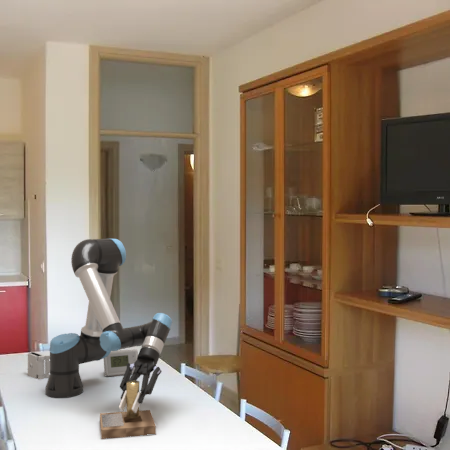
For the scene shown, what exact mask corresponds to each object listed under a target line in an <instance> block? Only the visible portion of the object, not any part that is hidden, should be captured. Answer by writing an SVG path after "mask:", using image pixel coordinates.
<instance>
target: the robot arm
mask: <svg viewBox="0 0 450 450" xmlns="http://www.w3.org/2000/svg"><path fill="white" fill-rule="evenodd" d="M126 259H127V251H126V248H125V246H124V244H123V242H122V241H121V240H119V239H117V238H109V237H107V238H93V239H92V238H90V239H88V238H87V239H84V240H82V241H80V242H79V243H77V244H76V245H75V247H74V248H73V250H72V254H71V262H70V263H71V268H72V271H73V273H74V275H75V277H76V278H79V281H80V283H81V285H82V287H83V290H84V293H85V294H86V297H87V299H88V306H87V312H86V313H87V314H86V319H85V325H84V326H83V327H81V330H80V335H79V334H78V333H76V332H75V333H74V332H69V333H61V334H59V335H56V336H54V337H53V338H51V340H50V343H49V350H48V351H49V356H50V359H49V361H50V373H49V375H50V376H49V378H47V382H46V385H45V391H44V392H45V395H46V396H48V397H51V398H56V399H57V398H69V397H70V398H71V397H75V396H79V395H80V394H82V393H83V392H84V384H83V380H82V377H81V375H80V365H83V364H86V363H91V362H95V361H97V362H98V361H100V360H102V359H103V360H104V358H106V357H107V356H108V355H109V354H110V352H111V351H119V350H126V349H127V348H128V349H130V348H135V347H141V348H140V349H139V352H138V357H137V360H136V361H135V363H134V364H130V363H128V364H127V369H126V372H125V374H124V375H123V377H122V379H121V383H120V384H119V388H120V389H121V391H122V393H121V395H120V400H121V401H120V403H119V406H118V408H119V410H120V412H125V411H124V410H125V409H126V407H127V382H128V381H132V380H136V381H138V379H139V378H140V377H141V376H143V377H142V381H141V382H142V383H141V387H140V389H139V392H138V394H137V396H136V399H135V401H134V404H133V407H132V411H133V412H134V413H136V412H137V410H138V407H139V408H140V404H142V403H143V402H144V400H145V396H147V395H148V396H149V395H150V396H151V395H152V393H153V391H154V388H155V385H156V383H157V380H158V377H159V376H161V375H160V374H162V369H161V368H160V366H157V364H158V361H159V359H160V357H161V353H162V351H163V349H164V346H165V343H166V341H167V339H168V335H169V333H170V331H171V329H172V328H171V327H172V324H173V319H172V317H170V316H169V315H168V314H166V313H164V312H157V313H155V314H154V315H153V318H152V320H151V321H150V322H147V323H144V324H141V325H134V326H129V327H123V325H122V323H121V321H120V318H119V317H118V314H117V311H116V309H115V308H114V305H113V302H112V300H111V297H112V296H111V295H112V289H113V282H114V276H115V275H116V274H118V272H119V267H121V266H122V265H124V264H125V262H126ZM134 367H135V370H134V371H133V368H134ZM132 371H133V374H131V373H132ZM151 373H152V374H151Z"/></svg>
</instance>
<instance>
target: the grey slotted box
mask: <svg viewBox="0 0 450 450" xmlns="http://www.w3.org/2000/svg"><path fill="white" fill-rule="evenodd" d="M27 376H29V377H31V378H34V379H37V380H44V379H49V376H50V355H44V354H41V353H38V352H35V351H34V352H33V351H32V352H28V353H27Z"/></svg>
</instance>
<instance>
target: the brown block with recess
mask: <svg viewBox="0 0 450 450" xmlns="http://www.w3.org/2000/svg"><path fill="white" fill-rule="evenodd" d="M99 426H100V436H101V437H100V438H101V440H105V439H106V438H107V439H116V438H117V439H118V438H128V437H129V438H130V436H131V437H141V436H140V435H143V436H148V435H147V434H155V435H156V434H157V433H156V431H157V430H156V428H157V426H156V423H155V420H154V417H153V414H152V411H151V410H150V409H144V410H139V417H138V418H127V411H116V412H115V411H114V412H102V413H99Z"/></svg>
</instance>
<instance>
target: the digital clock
mask: <svg viewBox="0 0 450 450" xmlns="http://www.w3.org/2000/svg"><path fill="white" fill-rule="evenodd" d="M138 354H139V352H138V349H135V348H134V349H120V350H117V351H111V352H110V354H109V355H108V356H107V357H106V358H103V368H104V369H103V371H104V372H103V373H104V376H105V377H121V376H124V374H125V372H126V369H127V364H128V363H130V364H134V363H135V361H136V360H137V357H138ZM134 370H135V367H134V368H133V371H134ZM133 371H132V373H131V375H132V374H133Z"/></svg>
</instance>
